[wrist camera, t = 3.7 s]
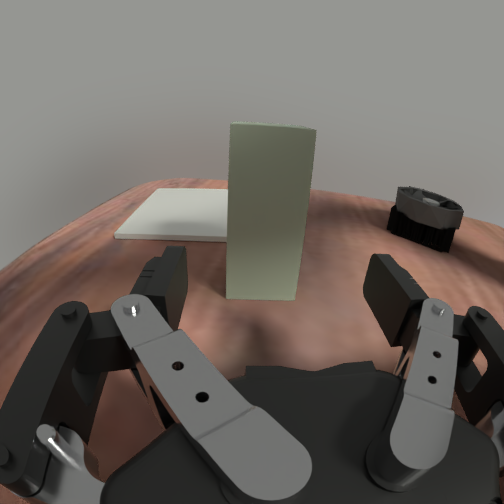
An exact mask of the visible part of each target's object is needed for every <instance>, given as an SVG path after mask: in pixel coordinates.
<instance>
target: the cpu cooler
mask: <svg viewBox="0 0 504 504" xmlns="http://www.w3.org/2000/svg"><path fill="white" fill-rule="evenodd" d="M395 204H396V205H394V206H393V207H392V208H391V212H390V216H389V221H388V225H387V230H390V231H391V233H392V234H394V235H395V233H397V236H400V235H402V236H403V238H404V237H405V239H406V238H407V239H409V238H410V239H409V240H412V241H414V240H415V242H416V241H418V242H417V243H419V242H421V243H422V242H423V244H424V245H426V246H427V245H428V244H429V245H428V247H430V245H432V246H434V247H437V248H439V249H441V250H443V251H445V252H448V253H449V250H450V246H451V243H452V240H453V237H454V233H455V229H459V227H460V224H461V220H462V217H463V213H464V211H463V209H462V207H461V206H460V205H459V204H457V203H456V202H454V201H453V200H450V199H448V198H446V197H443V196H441V195H438V194H436V193H433V192H429V191H426V190H424V189H420V188H415V187H410V186H409V187H398V191H397V197H396V203H395ZM402 236H401V237H402ZM431 243H432V244H431ZM423 244H422V245H423ZM435 244H436V245H437V246H436V245H435ZM432 246H431V247H430V248H432V249H434V250H435V248H434V247H432ZM437 251H439V250H438V249H437ZM439 252H441V251H439Z"/></svg>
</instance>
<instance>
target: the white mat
mask: <svg viewBox="0 0 504 504" xmlns="http://www.w3.org/2000/svg"><path fill="white" fill-rule="evenodd" d="M227 208H228V189H184V188H158V189H157V190H156V191H155V192H154V193H153V194H152V195H151V196H150V197H149V198H148V199H147V200H146V201H145V202H144V203H143V204H142V205H141V206H140V207H139V208H138V209H137V210H136V211H135V212H134V213H133V214H132V215H131V216H130V217H129V218H128V219H127V220H126V221H125V222H124V223H123V224H122V225H121V227H120V228H119V229H118V230H117V231H116V232H115V233H114V236H115V239H149V240H181V241H210V242H227Z"/></svg>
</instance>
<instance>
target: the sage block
mask: <svg viewBox="0 0 504 504" xmlns="http://www.w3.org/2000/svg"><path fill="white" fill-rule="evenodd" d="M315 141H316V130H314V129H310V128H306V127H303V126H296V125H285V124H272V123H256V122H232V123H231V125H230V148H229V175H228V208H227V254H226V299H243V300H286V301H295V295H296V289H297V283H298V276H299V270H300V263H301V256H302V249H303V242H304V235H305V228H306V220H307V212H308V204H309V196H310V188H311V179H312V170H313V161H314V151H315Z"/></svg>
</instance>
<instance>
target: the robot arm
mask: <svg viewBox="0 0 504 504" xmlns="http://www.w3.org/2000/svg"><path fill="white" fill-rule="evenodd" d="M187 290H188V274H187V258H186V248H185V246H167V247H166V249H165V251H164V253H163V255H162V257H154V258H153V259H151V260H150V261H148V262H147V263H146V265H145V267H144V268H143V271H142V272H141V274H140V276H139V277H138V279H137V281H136V283H135V285H134V287H133V289H132V291H131V292H130V294H129V295H126V296H123V297H120V298H119V299H117V300H116V301H115V302H114V303H113V304H112V306H111V310H109V311H103V312H95V313H89V310H88V307H87V306H86V305H85V304H84V303H82V302H78V301H71V302H67V303H64V304H62V305H60V306H59V307H57V308H56V309H55V310H54V312H53V313H52V315H51V316H50V318H49V319H48V321H47V323H46V324H45V326H44V328H43V329H42V331H41V333H40V334H39V336H38V338H37V339H36V341H35V343H34V344H33V346H32V348H31V350H30V352H29V353H28V355H27V357H26V359H25V361H24V362H23V364H22V366H21V368H20V370H19V372H18V374H17V376H16V378H15V380H14V382H13V384H12V386H11V388H10V390H9V392H8V394H7V396H6V398H5V401H4V403H3V405H2V407H1V409H0V484H2V485H3V486H5V487H6V488H8V489H9V490H10V491H11V492H12V493H14V494H15V495H17V496H18V497H20V498H22V499H23V500H25V501H27V502H28V503H30V504H503V503H502V500H501V495H500V485H499V477H503V476H504V330H503V329H502V328H501V327H500V325H499V324H498V323H497V321H496V320H495V319H494V318H493V316H492V315H491V314H490V313H489V312H488V311H487V310H485V309H483V308H481V307H478V306H472V307H470V308H469V309H468V311H467V313H466V315H465V316H461V315H455V314H454V312H453V310H452V308H451V307H450V306H449V305H448V304H447V303H445V302H444V301H442V300H439V299H435V298H429V297H428V296H427V294H426V293H425V292H424V291H423V290H422V288H421V287H420V286H419V285H418V284H417V282H416V281H415V280H414V279H413V277H412V276H411V275H410V274H409V273H408V271H406V270H405V269H404V268H402V267H401V266H399V265H398V264H397V263H396V261H395V260H394V259H393V258H392V257H391V256H390V255H389V254H373V255H372V256H371V258H370V262H369V266H368V270H367V273H366V277H365V281H364V285H363V294H364V298H365V299H366V301H367V303H368V305H369V307H370V308H371V310H372V312H373V314H374V316H375V318H376V320H377V321H378V323H379V325H380V327H381V329H382V331H383V333H384V335H385V337H386V338H387V340H388V342H389V344H390V346H391V347H396V346H403V349H402V351H401V353H400V355H399V358H398V361H397V364H396V367H395V369H394V372H393V374H392V373H389V372H385V371H381V370H376V369H375V367H374V364H373V362H372V361H364V362H353V363H343V364H340V365H337V366H333V367H330V368H326V369H323V370H319V371H306V370H299V369H293V368H287V367H282V366H246V372H245V376H241V377H237V378H233V379H230V380H228V381H227V380H226V379H225V378H224V376H223V375H222V374H221V373H220V372H219V371H218V370H217V369H216V368H215V367H214V365H213V364H212V363H211V362H210V361H209V360H208V359H207V358H206V356H205V355H204V354H203V353H202V352H201V351H200V350H199V348H198V347H197V346H196V345H195V344H194V343H193V341H192V340H191V339H190V338H189V337H188V336H187V334H186V333H185V332H184V331H183V330H181V329H178V326H179V322H180V318H181V314H182V310H183V306H184V303H185V299H186V295H187ZM479 349H480V350H481V351H482V353H483V354H484V356H485V357H486V359H487V362H488V367H487V370H486V372H485V374H484V375H483V376H481V374H480V372H479V371H478V369H477V367H476V365H475V364H474V362H473V359H474V357H475V356H476V354H477V353H478V351H479ZM125 369H129V370H130V372H131V374H132V376H133V378H134V379H135V381H136V383H137V385H138V386H139V388H140V390H141V392H142V393H143V395H144V397H145V399H146V400H147V402H148V404H149V405H150V407H151V409H152V411H153V413H154V415H155V417H156V419H157V421H158V422H159V424H160V426H161V427H162V429H163V430H164V432H163V433H162V434H161V435H159V436H158V437H157V438H156V439H155V440H153V441H152V442H151V443H150V444H148V445H147V446H146V447H145V448H144V449H142V450H141V451H140V452H139V453H137V454H136V455H135V456H134V457H132V458H131V459H130V460H128V461H127V462H126V463H125V464H123V465H122V466H121V467H119V468H118V469H117V470H116V471H114V472H113V473H112V474H111V475H110V477H109V478H108V479H107V481H106V482H105V483H103V482H101V480H100V477H99V472H98V469H99V465H98V460H97V457H96V456H95V454H94V453H93V452H92V450H91V449H90V448H89V447H88V441H89V437H90V433H91V429H92V425H93V422H94V418H95V414H96V411H97V407H98V403H99V400H100V396H101V393H102V390H103V386H104V383H105V380H106V377H107V374H108V372H109V371H117V370H125ZM454 390H455V392H456V394H457V396H458V398H459V400H460V402H461V404H462V407H463V409H464V411H465V413H466V416H467V418H468V420H469V422H467V421H466V420H464V419H463V418H461V417H459V416H458V415H456V414H455V413H454V410H452V408H451V405H452V398H453V392H454Z"/></svg>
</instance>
